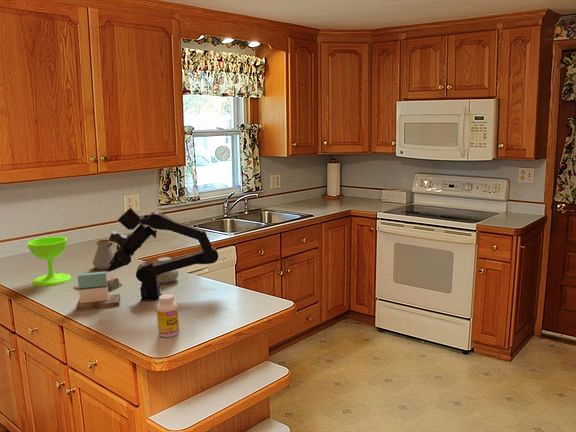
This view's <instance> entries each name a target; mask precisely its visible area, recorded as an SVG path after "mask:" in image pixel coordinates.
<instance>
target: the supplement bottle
mask: <svg viewBox="0 0 576 432" xmlns="http://www.w3.org/2000/svg"><path fill="white" fill-rule="evenodd" d="M174 297H175V296H174V295H173V294H171V293H165V294H162V295H161V296H159V299H158V301H159V303H158V304H157V306H156V316H157V317H156V318H157V331H158V336H160V337H162V338H171V337H174V336H177V335H178V334H179V333H180V326H179V324H180V322H179V309H178V307H179V306H178V304H177V302H175V301H174V300H175V298H174Z"/></svg>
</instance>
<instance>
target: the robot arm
mask: <svg viewBox="0 0 576 432" xmlns="http://www.w3.org/2000/svg"><path fill="white" fill-rule="evenodd" d="M117 221H118V222H119V223H120V224H121V225H122V226H124V228H126V230H128V231H129V230H131V231H133V232H132V233H129V234H127V235H125V234H123V233H120V232H118V231H115V230H112V231H111V234H110V236H109V238H108V240H109V241H110V243H114V244H115V243H116V244H117V245H116V251H115V252H114V257H113V258H112V260H111V261H110V263H109V264H110V266H109V268H108V269H107V270H106V272H109V273H110V272H112V271H113V272H114V271H115V270H117V269H120V268H122V267H125V266H128V265H129V264H130V263H131V262H132V257H133V256H134V255H135V252H136V251H138V249H141V247H142V245H143V244H144V243H145V242H146V241H147V240H148V239H149V238H150V237H151V236H152V237H153V238H154V239H155V238H157V230H161V231H170V232H174V233H176V234H180V235H183V236H185V237H188V238H190V239H191V238H192V239H194V240H198V243H199V245H200V247H201V248H200V249H199V250H196V251H195V252H194V253H190V254H186V255H182V256H179V257H176V258H171V260H168V261H164V262H160V263H157V262H154V259H149V260H148V261H142V262H141V263H140V264H139V265H138V266H137V268H136V272H135V278H136V279H137V280H138V282H141V283H140V285H141V286H140V287H139V289H140V297H141V298H140V301H159V296H161V295H163V294H162V293H161V288H160V283H159V281H157V278H158V275H160V274H162V273H165V272H169V271H173V270H179V269H183V268H187V267H190V266H194V265H210V264H211V265H212V264H215V263H216V262H217V261H218V259H219V253H218V250H217V248H216V246H213V245H212V243H211V240H210V239H209V237H208V235H207V232H206V231H205V230H204V229H200V228H198V227H194V226H191V225H189V224H185V223H182V222H179V221H176V220H174V219H172V218H170V217H168V216H167V215H166V214H164V213H161V212H160V211H157V210H155V211H154V210H153V211H152V212H150V213H149V214H146V215H139V214H138V213H137V212H136V211H135V210H134V209H133V208H132V207H129V208H128V209H127V210H126V211H125V212H124V211H123V213H122V214H121V215H120V216H119V217H118V218H117Z"/></svg>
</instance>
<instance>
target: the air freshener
mask: <svg viewBox="0 0 576 432" xmlns="http://www.w3.org/2000/svg"><path fill="white" fill-rule="evenodd" d="M171 259H172V258H171V257H169V256H168V257H167V256H166V257H160V258H157V260H156V261H157V262H156V263H160V262H164V261H168V260H171ZM178 277H179V271H178V269H176V270H173V271H169V272H165V273H162V274H160V275H158V278H157V281H159V284H169V283H172V282H174V281H175V280H176V279H178Z"/></svg>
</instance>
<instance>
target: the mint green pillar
mask: <svg viewBox="0 0 576 432" xmlns="http://www.w3.org/2000/svg"><path fill="white" fill-rule="evenodd" d="M107 276H108V275H107V270H103V271H96V272H85V273H79V274H77V281H78V282H77V283H78V285H79V288H88V287H98V286H107ZM79 288H78V289H79Z"/></svg>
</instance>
